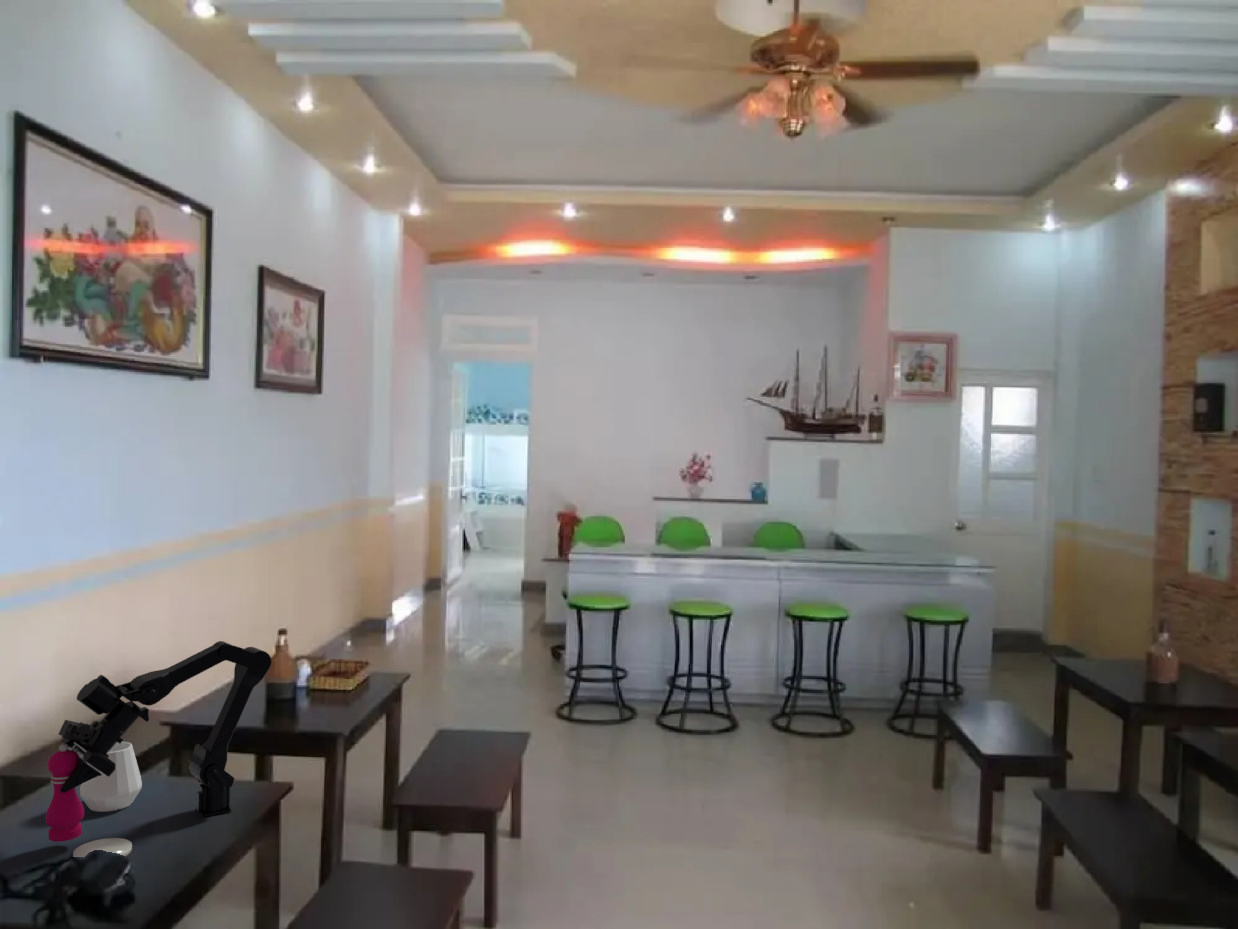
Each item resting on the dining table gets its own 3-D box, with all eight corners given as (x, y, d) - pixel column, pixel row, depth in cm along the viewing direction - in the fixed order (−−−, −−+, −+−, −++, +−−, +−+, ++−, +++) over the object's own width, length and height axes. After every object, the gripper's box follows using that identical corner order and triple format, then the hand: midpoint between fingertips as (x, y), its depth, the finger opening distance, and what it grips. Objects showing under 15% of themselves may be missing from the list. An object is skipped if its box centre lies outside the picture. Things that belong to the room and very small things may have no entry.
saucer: (127, 838, 214) (127, 834, 214) (135, 857, 205) (135, 852, 205) (70, 849, 208) (70, 845, 208) (75, 869, 199) (76, 864, 199)
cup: (136, 812, 229) (137, 753, 228) (72, 817, 225) (73, 757, 224) (146, 792, 241) (147, 736, 241) (86, 796, 238) (87, 740, 237)
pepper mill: (44, 845, 204) (42, 751, 203) (47, 832, 210) (45, 741, 209) (84, 839, 207) (82, 746, 206) (85, 826, 214) (83, 736, 213)
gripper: (71, 696, 217) (15, 757, 210) (99, 715, 204) (39, 780, 196) (109, 724, 223) (56, 784, 215) (138, 744, 210) (82, 808, 202)
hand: (57, 788), depth 207 cm, fingers closed on pepper mill, 5 cm apart
